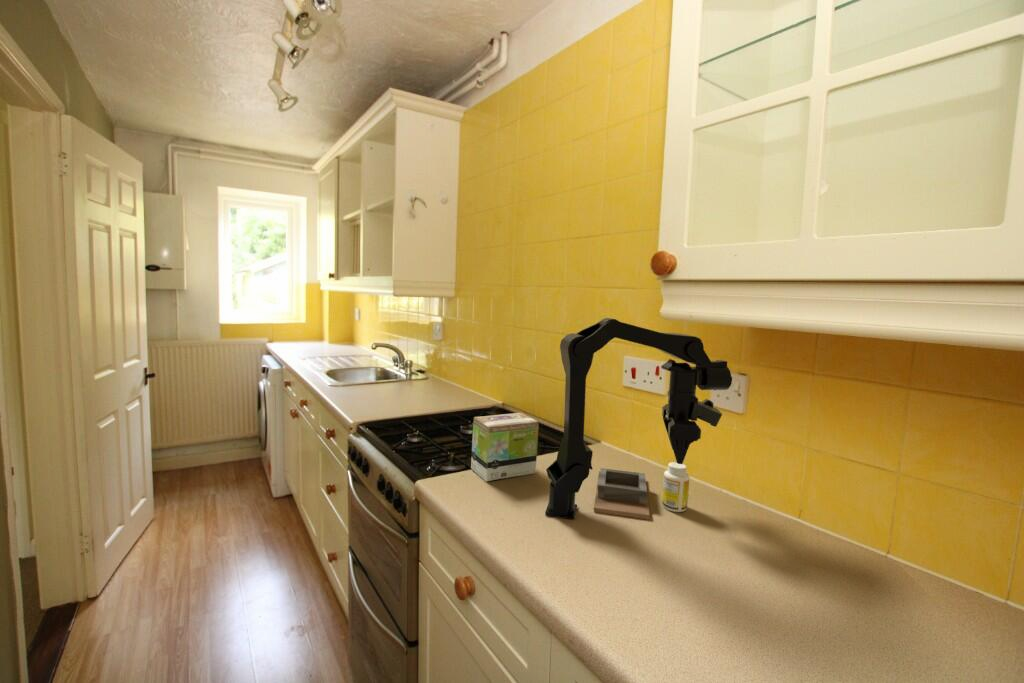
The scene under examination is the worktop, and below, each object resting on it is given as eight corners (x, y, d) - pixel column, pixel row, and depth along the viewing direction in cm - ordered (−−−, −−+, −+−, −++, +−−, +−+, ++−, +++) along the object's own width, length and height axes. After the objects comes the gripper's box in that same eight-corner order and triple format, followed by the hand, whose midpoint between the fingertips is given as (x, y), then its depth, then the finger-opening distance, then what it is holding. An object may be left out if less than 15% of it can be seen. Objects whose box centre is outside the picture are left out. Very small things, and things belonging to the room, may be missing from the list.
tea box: (486, 483, 118) (488, 426, 117) (470, 469, 127) (471, 416, 125) (537, 473, 126) (539, 420, 124) (518, 461, 134) (520, 410, 133)
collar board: (649, 519, 102) (650, 502, 102) (593, 511, 105) (594, 494, 105) (644, 480, 124) (645, 465, 123) (598, 474, 126) (599, 460, 126)
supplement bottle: (682, 502, 112) (685, 461, 110) (690, 513, 106) (694, 470, 105) (658, 501, 112) (661, 460, 110) (665, 512, 106) (669, 469, 105)
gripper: (730, 402, 95) (723, 476, 97) (712, 384, 113) (706, 447, 115) (672, 398, 98) (667, 470, 99) (664, 381, 116) (659, 442, 117)
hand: (677, 456), depth 108 cm, fingers open, 9 cm apart
